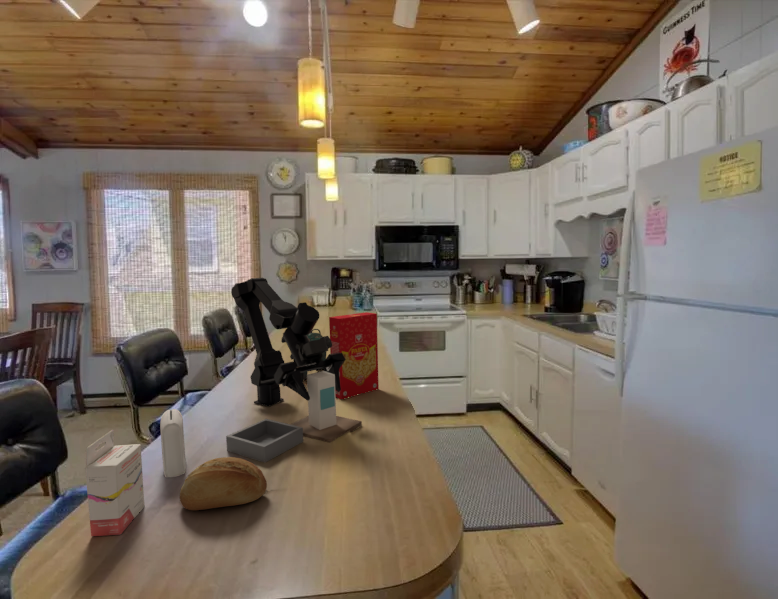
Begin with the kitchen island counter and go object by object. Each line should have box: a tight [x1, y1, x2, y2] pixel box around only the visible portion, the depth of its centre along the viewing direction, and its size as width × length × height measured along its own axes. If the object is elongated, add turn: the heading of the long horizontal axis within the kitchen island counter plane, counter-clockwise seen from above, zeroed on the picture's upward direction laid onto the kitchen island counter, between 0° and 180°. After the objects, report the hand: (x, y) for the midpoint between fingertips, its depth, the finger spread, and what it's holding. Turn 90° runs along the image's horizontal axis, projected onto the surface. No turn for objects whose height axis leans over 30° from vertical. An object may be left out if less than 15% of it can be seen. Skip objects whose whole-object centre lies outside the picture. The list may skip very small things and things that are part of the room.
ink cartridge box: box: [84, 429, 145, 537], centre depth 75 cm, size 9×5×15 cm, turn 5°
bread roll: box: [179, 456, 268, 511], centre depth 80 cm, size 10×15×8 cm, turn 102°
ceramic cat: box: [292, 328, 327, 381], centre depth 165 cm, size 20×6×20 cm, turn 160°
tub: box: [225, 418, 304, 463], centre depth 102 cm, size 12×12×4 cm
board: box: [289, 415, 363, 443], centre depth 113 cm, size 15×13×1 cm
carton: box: [306, 370, 337, 430], centre depth 112 cm, size 5×5×13 cm
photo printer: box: [159, 408, 187, 478], centre depth 93 cm, size 10×4×12 cm, turn 26°
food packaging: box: [328, 311, 380, 400], centre depth 141 cm, size 15×5×25 cm, turn 131°
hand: (324, 395), depth 111 cm, fingers open, 9 cm apart
